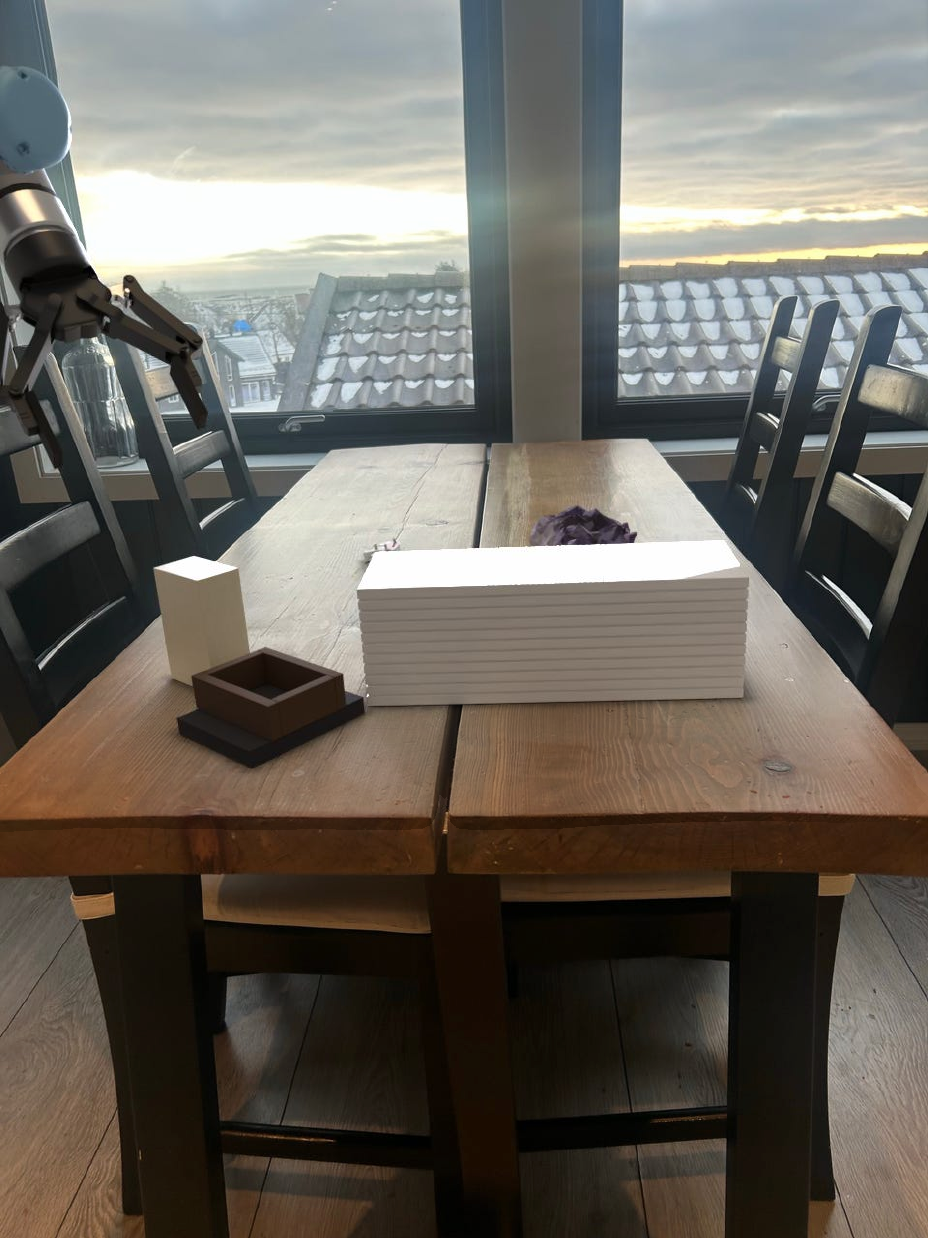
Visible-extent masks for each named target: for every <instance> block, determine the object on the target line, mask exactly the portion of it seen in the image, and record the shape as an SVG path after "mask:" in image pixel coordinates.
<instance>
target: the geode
mask: <svg viewBox="0 0 928 1238" xmlns="http://www.w3.org/2000/svg"><path fill="white" fill-rule="evenodd" d="M637 536H638V531H632V532H631V528H630V525H629V523H628V522H623V523H621V522H620V521H619V520H616V519H614V518H612V517H611V518H610V517H608V516H606V515H605V514H603V513H602V512H601V511H600V510H598V509H597V508H593V509H590V510H587V509H586V508H584V507H583V506H580V505H573V506H570V507H568V508H565V509H563V510H562V511H561V512H559V513H558V514H543V515H541V516H539V518H538V519H537V520H536V522H535V524H534V526H533V528H532V530H531V532H530V535H529V536H528V541H529V544H530V547H551V546H578V545H580V546H581V545H608V544H636V543H635V540H636V538H637Z"/></svg>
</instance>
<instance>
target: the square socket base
mask: <svg viewBox="0 0 928 1238" xmlns="http://www.w3.org/2000/svg"><path fill="white" fill-rule="evenodd" d="M191 678H192V684H193V687H192V690H193V696H194V702H195V707H196V709H194V710H192V711H189V712H187V713H184V714H182V715H180V716H177V717H176V724H177V730H178V734H179V735H180V736H184V737H185V738H188V739H190V740H192V741H194V742H196V743H197V744H200V745H202V746H204V747H206V748H209V749H210V750H212V751H215V752H216V753H219V754H221V755H223V756H225V757H227V758H229V759H232V760H234V761H236V762H238V763H240V764H242V765H243V766H246V767H248V768H250V769H253V768H255V767H257V766H259V765H262V764H264V763H265V762H267V761H269V760H271V759H274V758H276V757H278V756H279V755H282V754H284V753H286V752H288V751H290V750H292V749H294V748H296V747H298V746H300V745H302V744H304V743H306V742H308V741H310V740H312V739H314V738H316V737H319V736H321V735H323V734H326V733H327V732H329V731H331V730H333V729H335V728H338V727H339V726H341V725H343V724H345V723H348V722H349V721H352V720H353V719H355V718H358V717H359V716H361V715H363V714H365V713H366V707H365V698H364V696H361V695H358V694H356V693H353V692H350V691H347V690H346V688H345V687H346V686H345V676H344V673H342V672H340V671H337V670H333V669H331V668H327V667H324V666H323V665H319V664H315V663H313V662H310V661H308V660H306V659H302V658H298V657H296V656H293V655H290V654H287V653H285V652H281V651H278V650H275V649H272V648H270V647H266V646H264V647H262V648H259V649H256V650H254V651H250V653H249V654H246V655H244V656H241V657H239V658H236V659H233V660H231V661H228V662H226V663H223V664H221V665H218V666H215V667H213V668H210V669H208V670H205V671H203V672H200V673H197V674H195V675H192V676H191Z"/></svg>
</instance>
